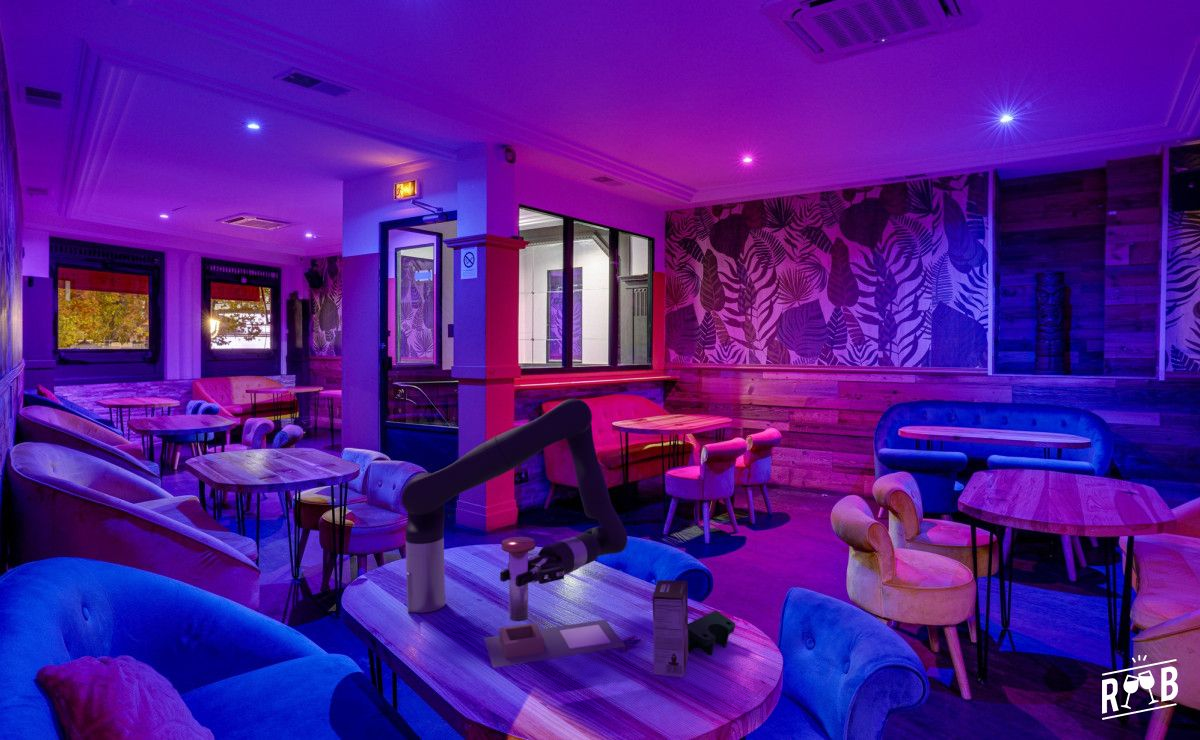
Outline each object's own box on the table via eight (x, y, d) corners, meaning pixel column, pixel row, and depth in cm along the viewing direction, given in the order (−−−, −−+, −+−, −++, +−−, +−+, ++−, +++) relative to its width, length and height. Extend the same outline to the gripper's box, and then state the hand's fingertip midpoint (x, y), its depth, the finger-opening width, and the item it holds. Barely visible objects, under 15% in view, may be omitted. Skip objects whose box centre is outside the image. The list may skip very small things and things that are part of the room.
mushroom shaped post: (505, 626, 134) (504, 548, 133) (499, 612, 141) (499, 538, 140) (538, 621, 136) (538, 545, 135) (532, 608, 143) (531, 535, 142)
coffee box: (658, 653, 138) (657, 578, 137) (688, 656, 137) (688, 580, 136) (653, 675, 129) (652, 595, 128) (685, 678, 128) (684, 597, 127)
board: (493, 675, 130) (492, 653, 130) (483, 644, 143) (483, 624, 143) (625, 653, 138) (625, 632, 138) (605, 625, 152) (605, 606, 151)
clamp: (703, 675, 137) (700, 647, 133) (682, 659, 141) (678, 631, 137) (738, 639, 144) (736, 610, 139) (717, 624, 148) (714, 596, 143)
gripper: (540, 535, 153) (485, 554, 140) (587, 547, 145) (533, 568, 131) (540, 566, 154) (485, 589, 140) (587, 580, 145) (534, 605, 132)
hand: (509, 579), depth 136 cm, fingers closed on mushroom shaped post, 4 cm apart
